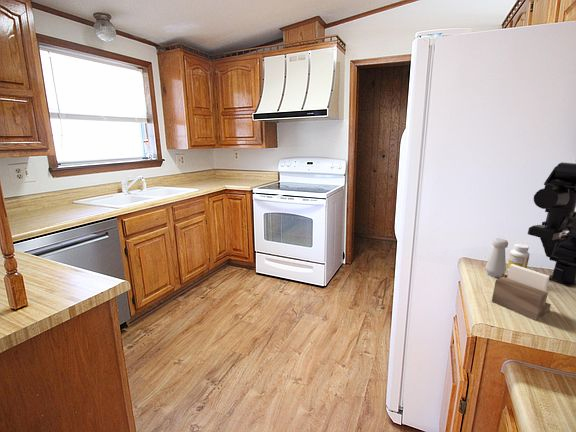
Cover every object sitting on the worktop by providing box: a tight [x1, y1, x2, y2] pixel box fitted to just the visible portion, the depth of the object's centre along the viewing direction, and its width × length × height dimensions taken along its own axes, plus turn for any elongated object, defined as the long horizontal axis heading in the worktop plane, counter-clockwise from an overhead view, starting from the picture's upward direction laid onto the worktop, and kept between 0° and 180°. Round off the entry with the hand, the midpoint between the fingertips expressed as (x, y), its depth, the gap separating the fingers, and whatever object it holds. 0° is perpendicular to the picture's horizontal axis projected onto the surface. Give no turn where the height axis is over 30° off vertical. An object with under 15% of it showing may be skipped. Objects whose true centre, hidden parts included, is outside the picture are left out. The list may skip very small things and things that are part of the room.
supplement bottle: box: [506, 243, 530, 272], centre depth 109 cm, size 5×5×10 cm
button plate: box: [506, 264, 550, 292], centre depth 88 cm, size 2×9×8 cm, turn 32°
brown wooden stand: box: [491, 276, 552, 321], centre depth 88 cm, size 8×11×7 cm
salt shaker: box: [485, 237, 509, 279], centre depth 106 cm, size 6×6×13 cm
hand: (548, 256), depth 95 cm, fingers closed
